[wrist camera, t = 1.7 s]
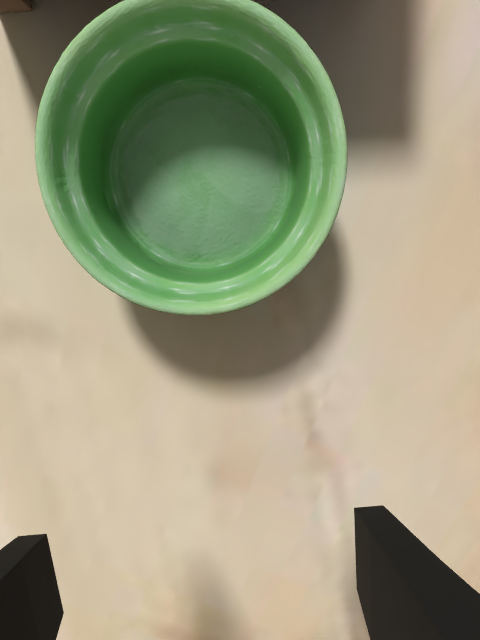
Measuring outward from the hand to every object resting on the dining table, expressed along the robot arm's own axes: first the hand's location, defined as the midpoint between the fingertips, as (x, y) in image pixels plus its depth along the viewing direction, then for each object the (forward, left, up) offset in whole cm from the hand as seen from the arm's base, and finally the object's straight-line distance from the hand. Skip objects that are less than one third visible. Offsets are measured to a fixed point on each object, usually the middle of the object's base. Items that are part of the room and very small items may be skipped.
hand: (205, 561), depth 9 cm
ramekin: (+7, -6, -10) cm, 13 cm away
